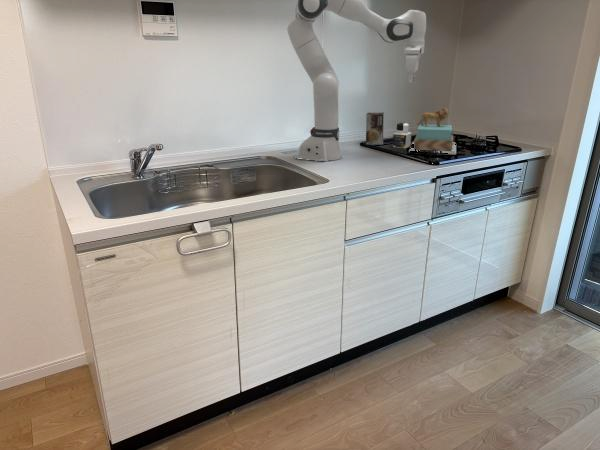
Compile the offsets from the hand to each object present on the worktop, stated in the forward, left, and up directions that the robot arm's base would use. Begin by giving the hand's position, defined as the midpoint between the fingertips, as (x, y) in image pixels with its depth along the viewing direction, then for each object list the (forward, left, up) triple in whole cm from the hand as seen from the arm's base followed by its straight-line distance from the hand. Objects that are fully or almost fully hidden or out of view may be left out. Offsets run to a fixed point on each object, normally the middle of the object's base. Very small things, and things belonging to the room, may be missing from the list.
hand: (411, 81), depth 204 cm
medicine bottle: (-4, +16, -34) cm, 37 cm away
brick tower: (+12, +14, -33) cm, 38 cm away
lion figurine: (+11, +17, -23) cm, 31 cm away
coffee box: (-19, +21, -34) cm, 44 cm away
